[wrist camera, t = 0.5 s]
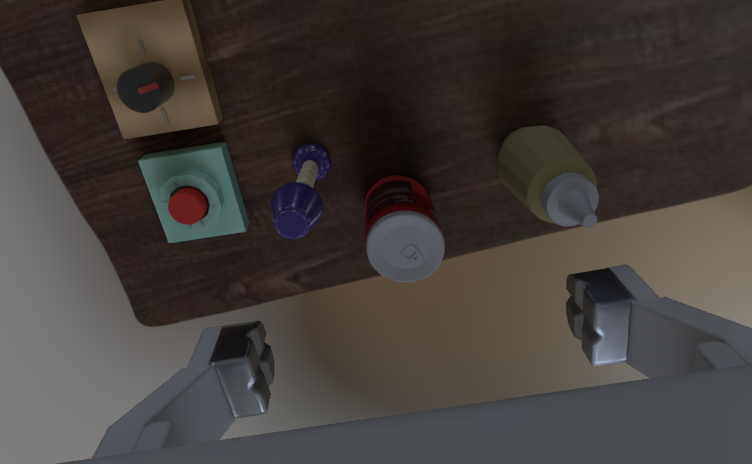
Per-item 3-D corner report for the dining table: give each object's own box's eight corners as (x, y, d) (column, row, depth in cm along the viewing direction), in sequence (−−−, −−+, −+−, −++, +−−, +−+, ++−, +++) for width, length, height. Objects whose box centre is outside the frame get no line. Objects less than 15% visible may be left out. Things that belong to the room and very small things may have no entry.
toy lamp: (289, 180, 59) (267, 251, 44) (285, 139, 57) (261, 200, 42) (332, 178, 59) (324, 248, 44) (329, 138, 57) (320, 198, 42)
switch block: (145, 154, 57) (131, 166, 53) (225, 141, 56) (217, 152, 53) (174, 234, 61) (163, 250, 58) (249, 222, 61) (243, 238, 57)
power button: (168, 189, 55) (162, 196, 53) (201, 184, 55) (197, 190, 53) (179, 220, 56) (174, 227, 55) (211, 215, 56) (207, 222, 55)
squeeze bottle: (483, 127, 57) (534, 189, 41) (556, 107, 56) (638, 163, 40) (494, 192, 60) (546, 273, 44) (563, 175, 60) (641, 250, 44)
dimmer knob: (146, 108, 52) (129, 119, 48) (125, 69, 50) (106, 77, 46) (182, 95, 52) (168, 105, 48) (162, 55, 50) (146, 62, 46)
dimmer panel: (88, 13, 50) (74, 15, 48) (188, -4, 50) (180, -3, 48) (132, 132, 56) (122, 140, 53) (223, 118, 55) (218, 124, 53)
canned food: (409, 243, 63) (420, 294, 53) (351, 215, 61) (351, 263, 51) (443, 192, 60) (461, 235, 50) (383, 161, 58) (390, 200, 48)
